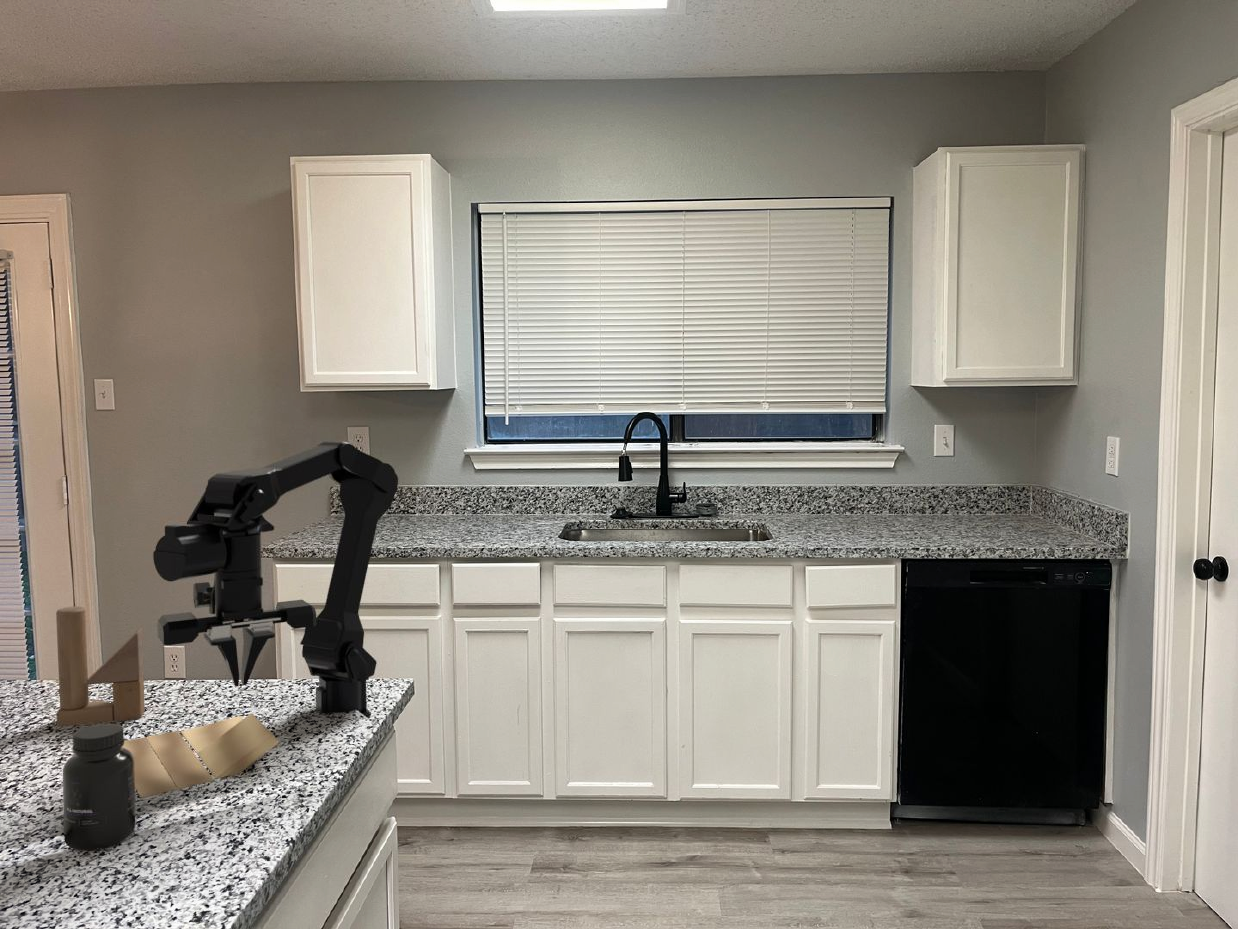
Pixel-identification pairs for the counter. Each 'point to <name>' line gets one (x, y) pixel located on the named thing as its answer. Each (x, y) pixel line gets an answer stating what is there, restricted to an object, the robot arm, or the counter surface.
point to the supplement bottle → (98, 789)
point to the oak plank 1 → (208, 733)
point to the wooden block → (96, 675)
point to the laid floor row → (165, 764)
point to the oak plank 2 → (238, 747)
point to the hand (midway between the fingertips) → (240, 685)
